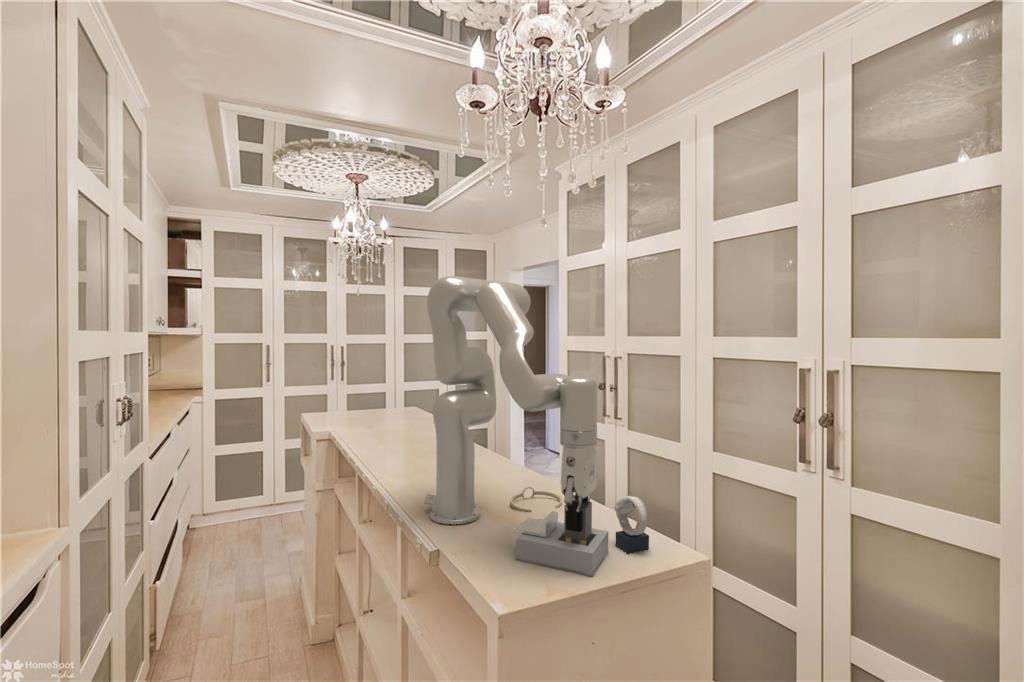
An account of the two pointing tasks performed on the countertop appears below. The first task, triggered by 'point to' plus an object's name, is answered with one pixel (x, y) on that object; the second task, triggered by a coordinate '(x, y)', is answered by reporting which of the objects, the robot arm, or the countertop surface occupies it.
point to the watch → (630, 537)
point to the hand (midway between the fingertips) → (578, 525)
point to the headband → (532, 497)
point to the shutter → (539, 525)
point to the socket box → (563, 551)
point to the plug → (586, 524)
